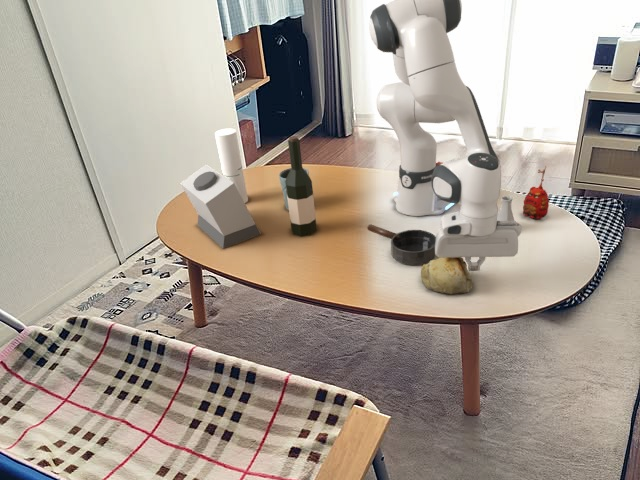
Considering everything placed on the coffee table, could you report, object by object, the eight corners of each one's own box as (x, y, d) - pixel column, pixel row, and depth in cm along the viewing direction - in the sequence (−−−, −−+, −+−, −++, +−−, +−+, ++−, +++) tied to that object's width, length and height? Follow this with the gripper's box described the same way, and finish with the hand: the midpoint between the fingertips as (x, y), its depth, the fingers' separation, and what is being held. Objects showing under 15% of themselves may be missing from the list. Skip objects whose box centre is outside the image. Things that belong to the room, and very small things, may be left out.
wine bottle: (314, 236, 175) (304, 142, 157) (288, 236, 177) (275, 142, 159) (319, 224, 182) (310, 132, 164) (294, 224, 184) (282, 132, 166)
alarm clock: (260, 234, 180) (250, 174, 168) (216, 251, 174) (202, 189, 162) (233, 213, 194) (221, 156, 182) (191, 227, 188) (176, 170, 176)
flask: (520, 227, 169) (524, 196, 163) (508, 236, 165) (512, 205, 159) (498, 221, 173) (501, 190, 167) (486, 230, 169) (489, 199, 163)
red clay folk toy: (517, 215, 175) (523, 169, 166) (530, 207, 178) (536, 162, 169) (539, 223, 170) (547, 176, 161) (552, 214, 173) (560, 168, 164)
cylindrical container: (252, 198, 203) (240, 129, 188) (239, 206, 198) (226, 136, 183) (236, 195, 206) (223, 127, 191) (224, 203, 201) (210, 134, 186)
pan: (410, 239, 169) (410, 225, 166) (445, 252, 161) (446, 238, 158) (381, 256, 162) (381, 243, 160) (417, 271, 154) (418, 257, 152)
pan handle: (365, 230, 170) (365, 225, 169) (370, 228, 171) (370, 222, 170) (396, 242, 163) (396, 236, 162) (401, 239, 164) (401, 233, 163)
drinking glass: (294, 215, 189) (290, 181, 182) (277, 206, 195) (272, 173, 188) (318, 205, 193) (314, 171, 186) (300, 196, 200) (296, 164, 193)
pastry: (483, 286, 146) (485, 259, 141) (446, 303, 141) (447, 276, 137) (446, 264, 156) (448, 238, 151) (411, 279, 151) (411, 253, 147)
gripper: (520, 214, 138) (513, 262, 146) (435, 216, 141) (433, 263, 149) (524, 226, 133) (517, 275, 141) (436, 228, 136) (434, 276, 144)
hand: (473, 269), depth 145 cm, fingers closed
